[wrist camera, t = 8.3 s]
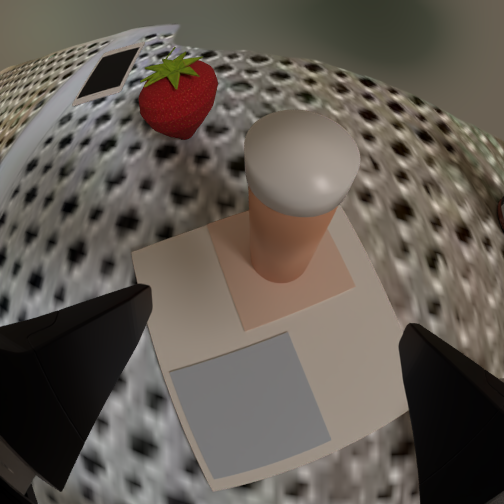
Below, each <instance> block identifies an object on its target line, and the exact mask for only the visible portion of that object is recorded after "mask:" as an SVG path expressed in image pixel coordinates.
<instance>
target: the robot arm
mask: <svg viewBox="0 0 504 504" xmlns="http://www.w3.org/2000/svg"><path fill="white" fill-rule="evenodd" d="M152 309H153V303H152V289H151V287H150V285H146V284H142V283H139V284H136V285H133V286H130V287H127V288H124V289H120V290H117V291H114V292H111V293H108V294H105V295H102V296H99V297H96V298H93V299H90V300H87V301H84V302H81V303H79V304H76V305H73V306H70V307H67V308H64V309H61V310H59V311H55V312H52V313H49V314H45V315H42V316H39V317H36V318H32V319H28V320H25V321H21V322H17V323H13V324H9V325H5V326H1V327H0V504H38V503H37V500H36V497H35V494H34V490H33V487H32V484H31V483H32V481H33V479H34V477H35V476H38V477H39V478H40V479H42V480H43V481H45V482H46V483H48V484H49V485H51V486H52V487H54V488H55V489H57V490H58V491H60V492H62V490H63V488H64V486H65V484H66V482H67V479H68V477H69V475H70V473H71V471H72V469H73V466H74V464H75V462H76V460H77V458H78V456H79V454H80V452H81V450H82V448H83V446H84V444H85V443H84V442H85V441H86V439H87V437H88V435H89V433H90V431H91V429H92V427H93V425H94V423H95V421H96V419H97V418H98V416H99V414H100V412H101V410H102V408H103V406H104V404H105V402H106V400H107V399H108V397H109V395H110V393H111V391H112V389H113V388H114V386H115V384H116V382H117V380H118V378H119V377H120V375H121V373H122V371H123V369H124V368H125V366H126V364H127V362H128V361H129V359H130V357H131V355H132V354H133V352H134V350H135V348H136V346H137V344H138V342H139V340H140V338H141V335H142V333H143V331H144V329H145V326H146V324H147V322H148V319H149V317H150V315H151V313H152ZM398 348H399V355H400V362H401V370H402V378H403V384H404V389H405V394H406V399H407V403H408V408H409V414H410V419H411V425H412V431H413V437H414V444H415V451H416V459H417V467H418V477H419V484H420V485H419V491H420V504H504V382H502V381H501V380H499V379H498V378H496V377H495V376H493V375H492V374H491V373H489V372H488V371H486V370H484V368H482V367H481V366H479V365H478V364H477V363H475V362H474V361H472V360H471V359H469V358H468V357H467V356H465V355H464V354H462V353H461V352H459V351H458V350H457V349H455V348H454V347H452V346H451V345H449V344H448V343H446V342H445V341H443V340H442V339H441V338H439V337H438V336H436V335H435V334H433V333H432V332H430V331H429V330H427V329H426V328H424V327H423V326H421V325H420V324H416V323H409V324H408V325H407V326H406V328H405V330H404V332H403V335H402V337H401V339H400V341H399V345H398Z"/></svg>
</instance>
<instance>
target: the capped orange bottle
mask: <svg viewBox="0 0 504 504" xmlns="http://www.w3.org/2000/svg"><path fill="white" fill-rule="evenodd" d="M244 151H245V174H246V180H247V183H248V189H249V221H250V253H251V262H252V265H253V267H254V269H255V270H256V272H257V273H258V274H259V275H260V276H261V277H263V278H264V279H266V280H268V281H270V282H274V283H288V282H291V281H294V280H296V279H297V278H299V277H300V276H301V275H302V274H303V273H304V271H305V270H306V268H307V266H308V264H309V263H310V261H311V259H312V257H313V255H314V253H315V251H316V249H317V247H318V245H319V243H320V241H321V239H322V237H323V236H324V234H325V232H326V230H327V228H328V226H329V224H330V222H331V220H332V218H333V216H334V214H335V212H336V210H337V207H338V206H339V205H340V203H341V202H342V201H343V200H344V198H345V197H346V195H347V193H348V191H349V189H350V187H351V185H352V183H353V180H354V178H355V176H356V174H357V172H358V170H359V166H360V153H359V149H358V146H357V144H356V142H355V141H354V139H353V138H352V136H351V135H350V134H349V133H348V132H347V131H346V130H345V129H344V128H343V127H342V126H341V125H339V124H338V123H337V122H335V121H333V120H332V119H330V118H328V117H325V116H323V115H321V114H317V113H314V112H310V111H304V110H283V111H278V112H274V113H271V114H268V115H266V116H264V117H262V118H261V119H259V120H258V121H257V122H255V123H254V124H253V125H252V126H251V128H250V129H249V131H248V132H247V135H246V137H245V142H244Z"/></svg>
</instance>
